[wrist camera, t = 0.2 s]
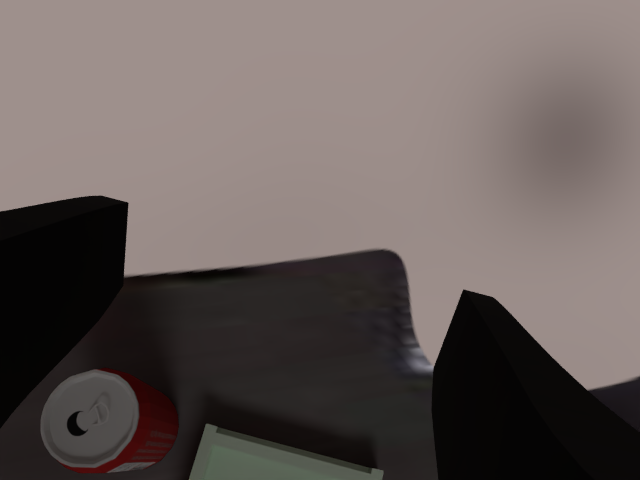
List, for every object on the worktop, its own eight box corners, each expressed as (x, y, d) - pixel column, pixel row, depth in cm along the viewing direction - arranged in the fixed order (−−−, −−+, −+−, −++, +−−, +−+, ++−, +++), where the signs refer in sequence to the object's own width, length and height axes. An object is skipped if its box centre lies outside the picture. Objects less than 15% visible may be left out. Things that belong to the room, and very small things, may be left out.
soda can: (164, 376, 41) (124, 346, 29) (190, 447, 39) (158, 444, 28) (90, 408, 39) (19, 389, 28) (113, 483, 38) (47, 495, 27)
